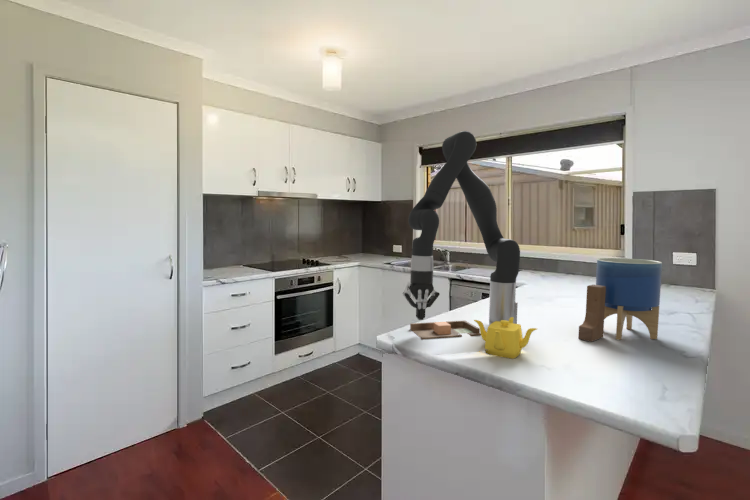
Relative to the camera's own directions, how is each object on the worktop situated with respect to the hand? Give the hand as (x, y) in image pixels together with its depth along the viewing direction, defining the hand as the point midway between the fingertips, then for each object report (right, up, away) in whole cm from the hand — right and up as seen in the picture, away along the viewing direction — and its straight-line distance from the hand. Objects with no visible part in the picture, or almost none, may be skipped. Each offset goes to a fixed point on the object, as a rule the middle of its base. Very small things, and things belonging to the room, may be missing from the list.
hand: (420, 319), depth 132 cm
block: (+8, -5, +2) cm, 9 cm away
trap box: (+8, -6, +2) cm, 11 cm away
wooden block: (+59, -7, +1) cm, 59 cm away
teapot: (+24, -8, -13) cm, 28 cm away
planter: (+74, -7, +7) cm, 74 cm away
